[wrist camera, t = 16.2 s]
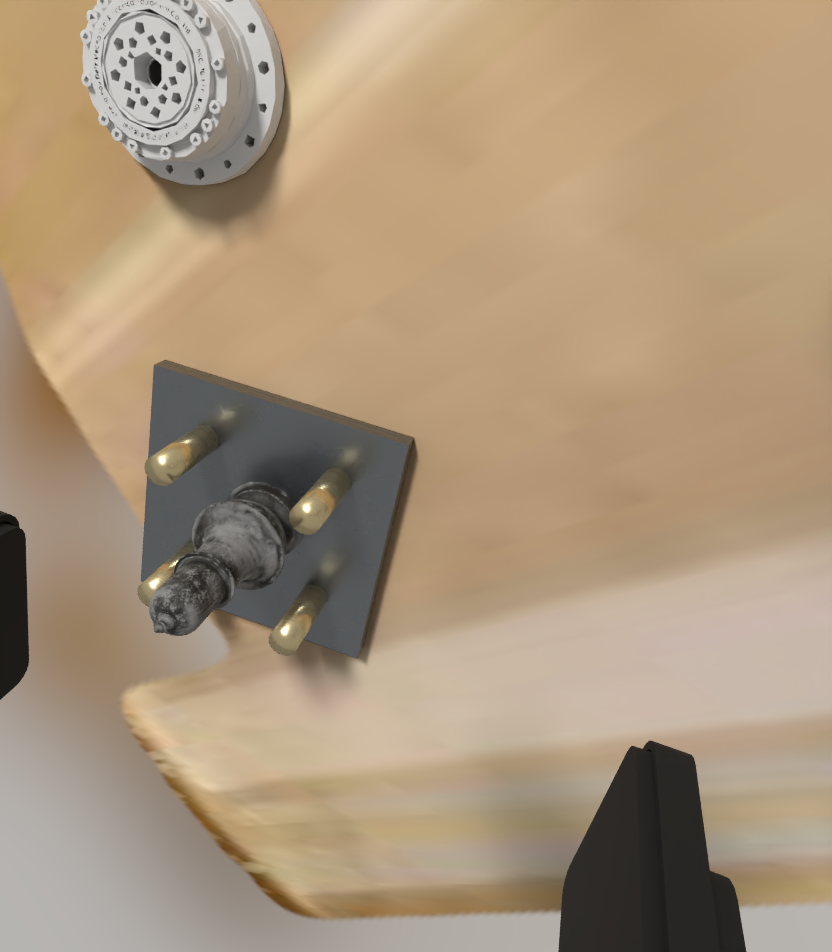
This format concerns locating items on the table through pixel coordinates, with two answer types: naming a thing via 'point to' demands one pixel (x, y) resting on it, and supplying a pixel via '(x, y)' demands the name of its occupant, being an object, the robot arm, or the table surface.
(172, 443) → the standoff chassis
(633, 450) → the table surface
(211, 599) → the grey chess piece
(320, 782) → the table surface
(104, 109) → the mechanical component
